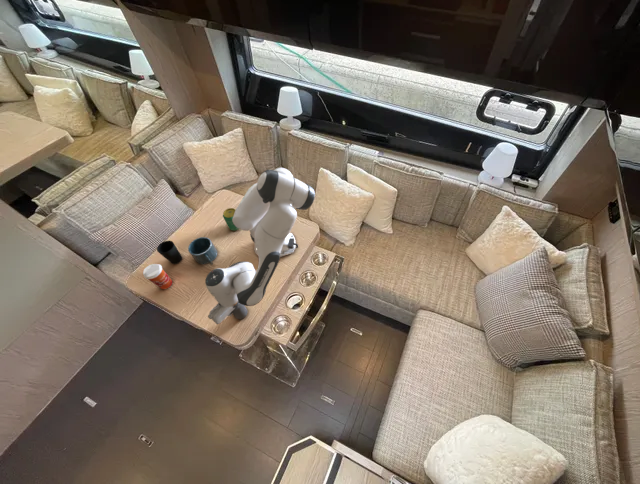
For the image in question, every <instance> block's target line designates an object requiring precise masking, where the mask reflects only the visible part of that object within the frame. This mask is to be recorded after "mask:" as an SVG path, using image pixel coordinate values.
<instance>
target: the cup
mask: <svg viewBox="0 0 640 484" xmlns="http://www.w3.org/2000/svg"><path fill="white" fill-rule="evenodd" d="M156 252H157V253H159V255H161V256H162V257H163V258H164V259H166V260H167V261H168V262H169V263H170V264H173V265H177V264H179V263H180V262H182V261H183V256H182V254H181V252H180V251H179V250H178V248H177V246H176V244H175V243H174V242H173V241H172V240H165V241H162V242H160V243H159V244H158V245H157V247H156Z"/></svg>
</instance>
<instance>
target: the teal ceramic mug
mask: <svg viewBox="0 0 640 484" xmlns="http://www.w3.org/2000/svg"><path fill="white" fill-rule="evenodd" d="M187 251H188V253H189V254H190V256H191V257H192V258H193V259H194V261H195V262H196V263H197V264H199V265H208V264H210V266H213V265H214V263H213V262H214V261H215V259H216V258H217V257H218V254H219V253H218V249H217V248H216V246H215V245H214V243H213V242H212V239H210V238H209V237H206V236H200V237H197V238H195V239H193V240H192V241H191V242H190V243H189V245H188V247H187Z"/></svg>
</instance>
